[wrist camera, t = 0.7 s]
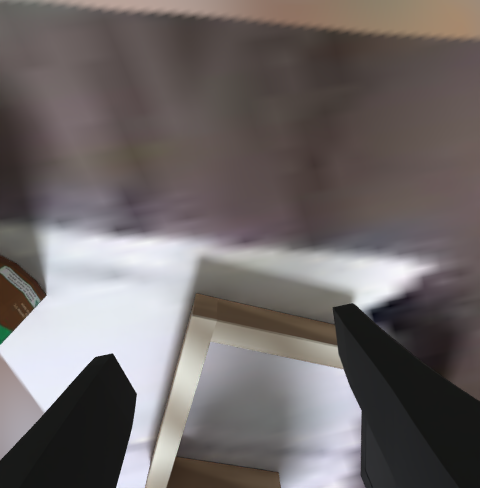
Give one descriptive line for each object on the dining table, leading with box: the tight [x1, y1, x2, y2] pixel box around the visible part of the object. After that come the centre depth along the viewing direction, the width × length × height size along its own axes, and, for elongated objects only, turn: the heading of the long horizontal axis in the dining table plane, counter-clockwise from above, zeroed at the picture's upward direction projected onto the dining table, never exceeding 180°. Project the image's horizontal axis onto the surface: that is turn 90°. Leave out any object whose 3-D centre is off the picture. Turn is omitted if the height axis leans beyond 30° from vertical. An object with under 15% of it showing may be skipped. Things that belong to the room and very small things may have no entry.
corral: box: [145, 293, 344, 488], centre depth 23 cm, size 17×11×3 cm, turn 164°
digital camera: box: [361, 412, 397, 488], centre depth 23 cm, size 10×5×7 cm, turn 7°
